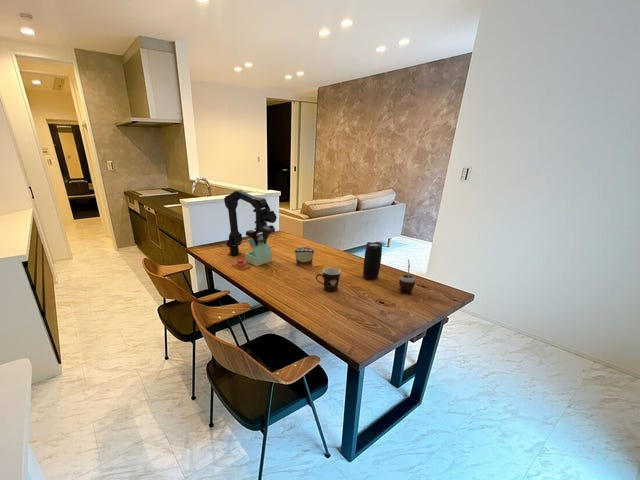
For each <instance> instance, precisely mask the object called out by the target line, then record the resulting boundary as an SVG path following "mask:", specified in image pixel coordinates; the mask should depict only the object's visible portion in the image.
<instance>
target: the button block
mask: <svg viewBox="0 0 640 480" xmlns="http://www.w3.org/2000/svg"><path fill="white" fill-rule="evenodd" d="M232 267H234V268H236V269H238V270H240V271H244V270H248V269H251V268H250V267H251V266H250V265H248V264H247V262H246V260H244V263H241V264H239V263H238V260H237V261H235V262H234V263H232Z"/></svg>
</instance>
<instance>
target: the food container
mask: <svg viewBox="0 0 640 480" xmlns="http://www.w3.org/2000/svg"><path fill="white" fill-rule="evenodd" d="M293 254H295V263H296V266H311V267H312V266H313V259H314V254H315V249H314V248H312V247H308V246H300V247H296V248H294V253H293Z"/></svg>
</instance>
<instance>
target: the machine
mask: <svg viewBox="0 0 640 480" xmlns="http://www.w3.org/2000/svg"><path fill="white" fill-rule="evenodd" d="M272 253H273V252H272ZM272 253H270V254H267V255H263V256H260V257H257V258H256V257H255V255H254V253H253V250H251V251H250V252H246V253H245V255H244V259H245V261H246V263H249V264H251V265H253V266H256V267H258V266H261V265H264V264H267V263H270V262H273V254H272Z"/></svg>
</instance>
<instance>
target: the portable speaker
mask: <svg viewBox="0 0 640 480" xmlns="http://www.w3.org/2000/svg"><path fill="white" fill-rule="evenodd" d="M382 255H383V243H382V242H378V241H377V242H376V241H375V242H371V241H368V242H366V247H365V251H364V258H363V267H362V268H363V269H362V278H363V279H364V280H367V279H371V280H373V281H376V280H378V279H379V278H378V277H379V273H380V269H381V263H382Z"/></svg>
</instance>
